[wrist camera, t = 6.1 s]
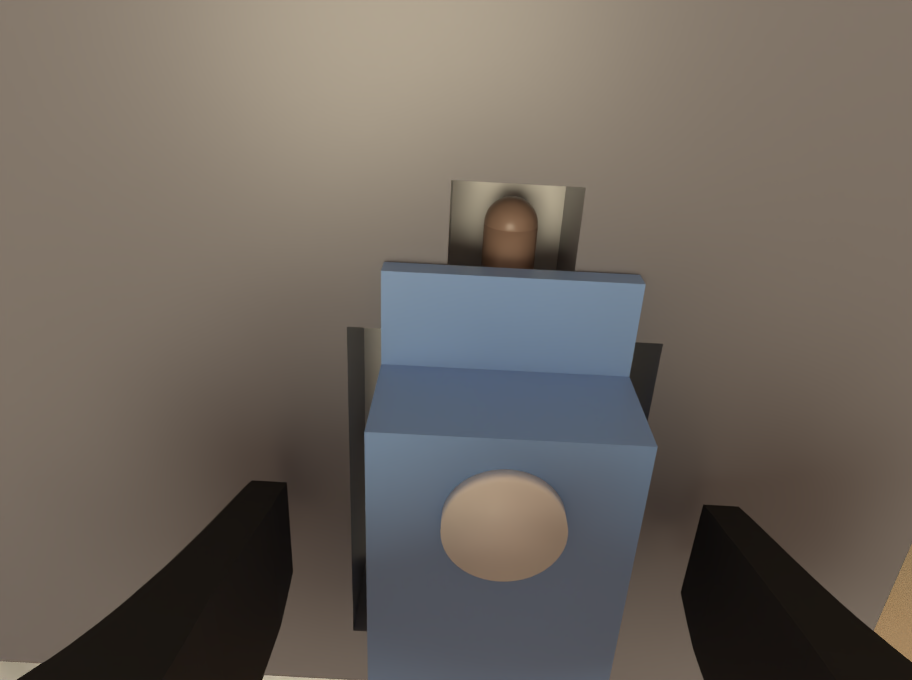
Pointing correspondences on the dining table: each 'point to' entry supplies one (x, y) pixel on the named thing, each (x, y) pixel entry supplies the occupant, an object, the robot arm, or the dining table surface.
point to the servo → (503, 465)
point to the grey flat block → (444, 243)
